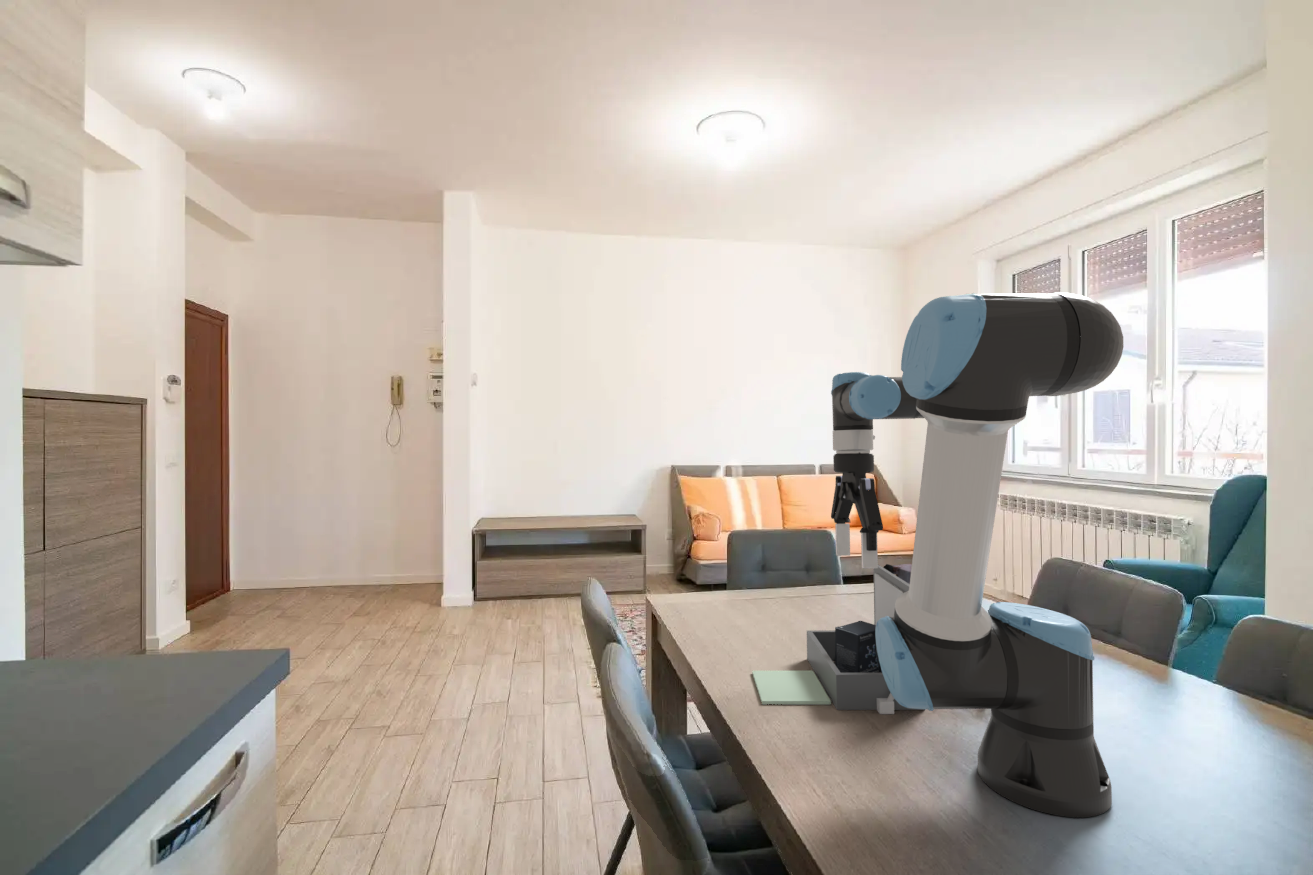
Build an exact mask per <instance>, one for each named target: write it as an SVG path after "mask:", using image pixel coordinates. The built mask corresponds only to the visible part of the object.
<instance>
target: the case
mask: <svg viewBox="0 0 1313 875" xmlns="http://www.w3.org/2000/svg"><path fill="white" fill-rule="evenodd" d="M883 567H884V566H881V565H879V564H878V568H873V614H874V616H873V617H874V619H873V622H874V623H873V624H874V625H876V624H877V622H878V620H879V619H880V618H884V617H885V616H889V617H894V611H895V602H896V600H897V598H898V597H899V596H900V595H901V594H903V593H905V592H907V591H909V586H910V584H908V583H907V582H905V581H904V580H902V579H900V578H899V577H898V576H897V574H892V573H891V572H889V571H888V570H886V569H885V568H883ZM806 660H807V661H808V663H809V665H810V667H811V668H812V671H814V673H815V675H816V677H817V678H818V680H819V682H820V683H821V685H822V687H823V689H824V690H825V692H826V694H827V695H828V697H829V699H830V701H831V703H832V704H833V707H835V710H839V711H840V710H842V711H843V710H845V711H849V710H850V711H857V710H858V711H859V710H860V711H863V710H865V711H870V710H871V711H873V710H874V711H877V712H878V714H879V715H895V711H926V709H913V708H906V707H904V706H902V705H900V704H899V703H898V702H897V701H896V700H895V699H894V697H893V696H892V694H891V692H890V691H889V689H888V686H887V684H886V682H885V679H884V676H883V673H840V671H839V670H838V668H837V667H836V665H835V629H834V630H826V629H825V630H823V629H822V630H821V629H820V630H806Z"/></svg>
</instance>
